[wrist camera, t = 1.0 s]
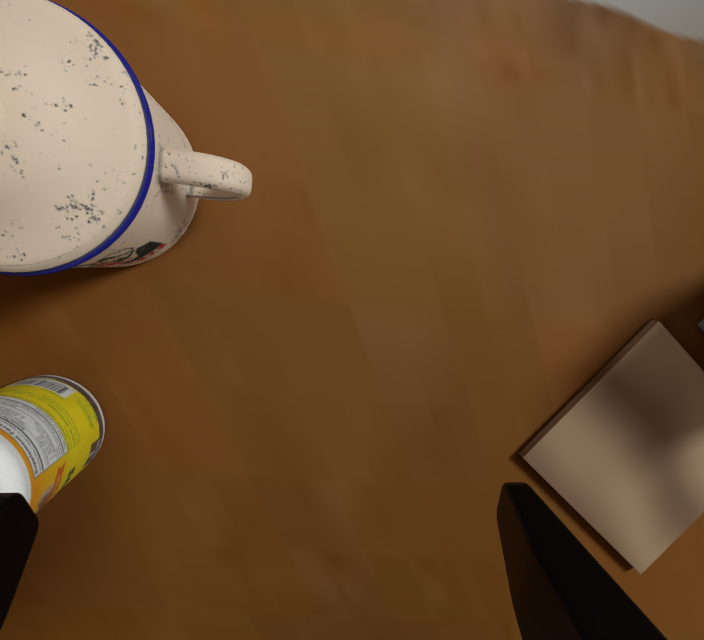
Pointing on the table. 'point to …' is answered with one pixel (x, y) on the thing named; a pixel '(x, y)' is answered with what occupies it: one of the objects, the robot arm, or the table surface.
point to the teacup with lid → (89, 151)
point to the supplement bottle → (46, 436)
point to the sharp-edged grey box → (701, 324)
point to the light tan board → (632, 447)
